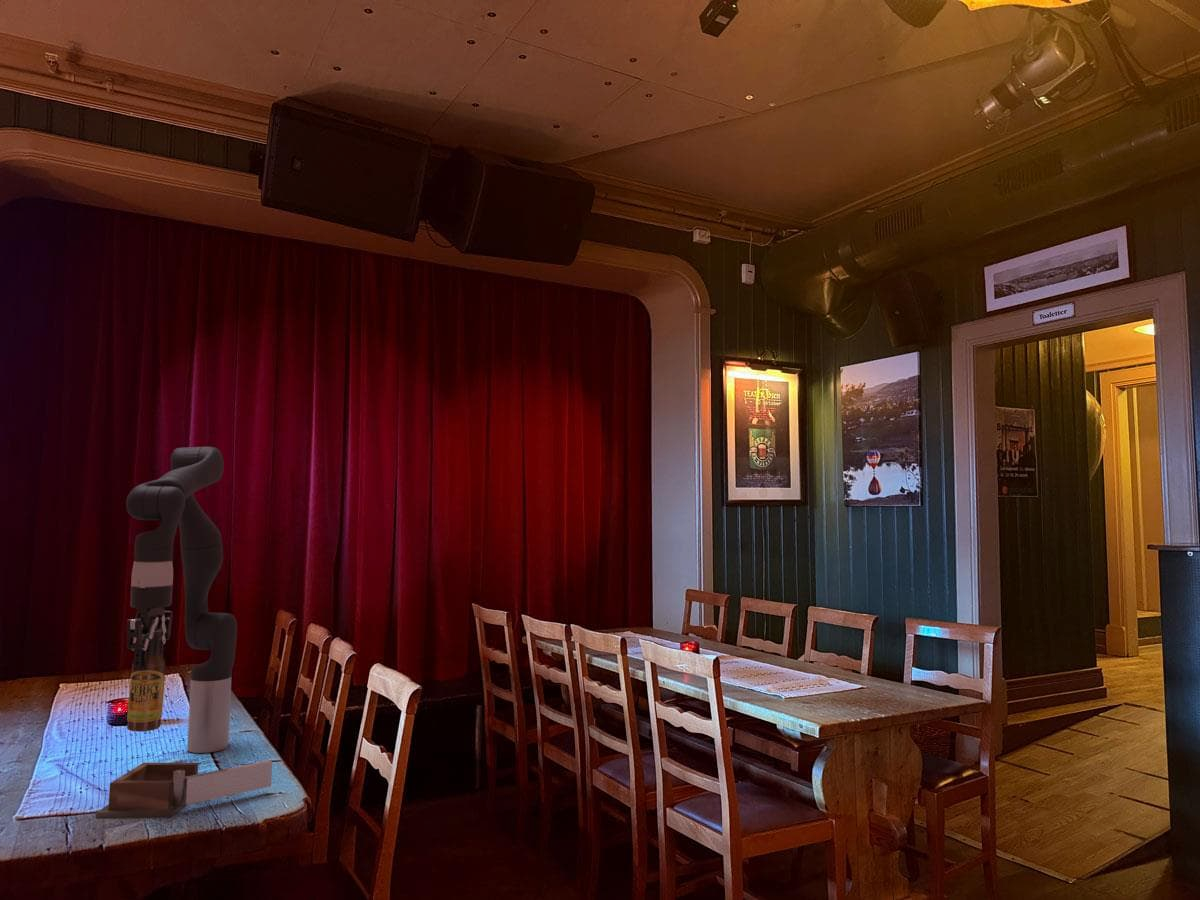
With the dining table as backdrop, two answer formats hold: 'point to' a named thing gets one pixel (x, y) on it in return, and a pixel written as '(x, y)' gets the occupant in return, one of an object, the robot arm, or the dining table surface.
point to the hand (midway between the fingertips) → (148, 665)
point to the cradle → (145, 791)
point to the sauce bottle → (147, 689)
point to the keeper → (220, 783)
